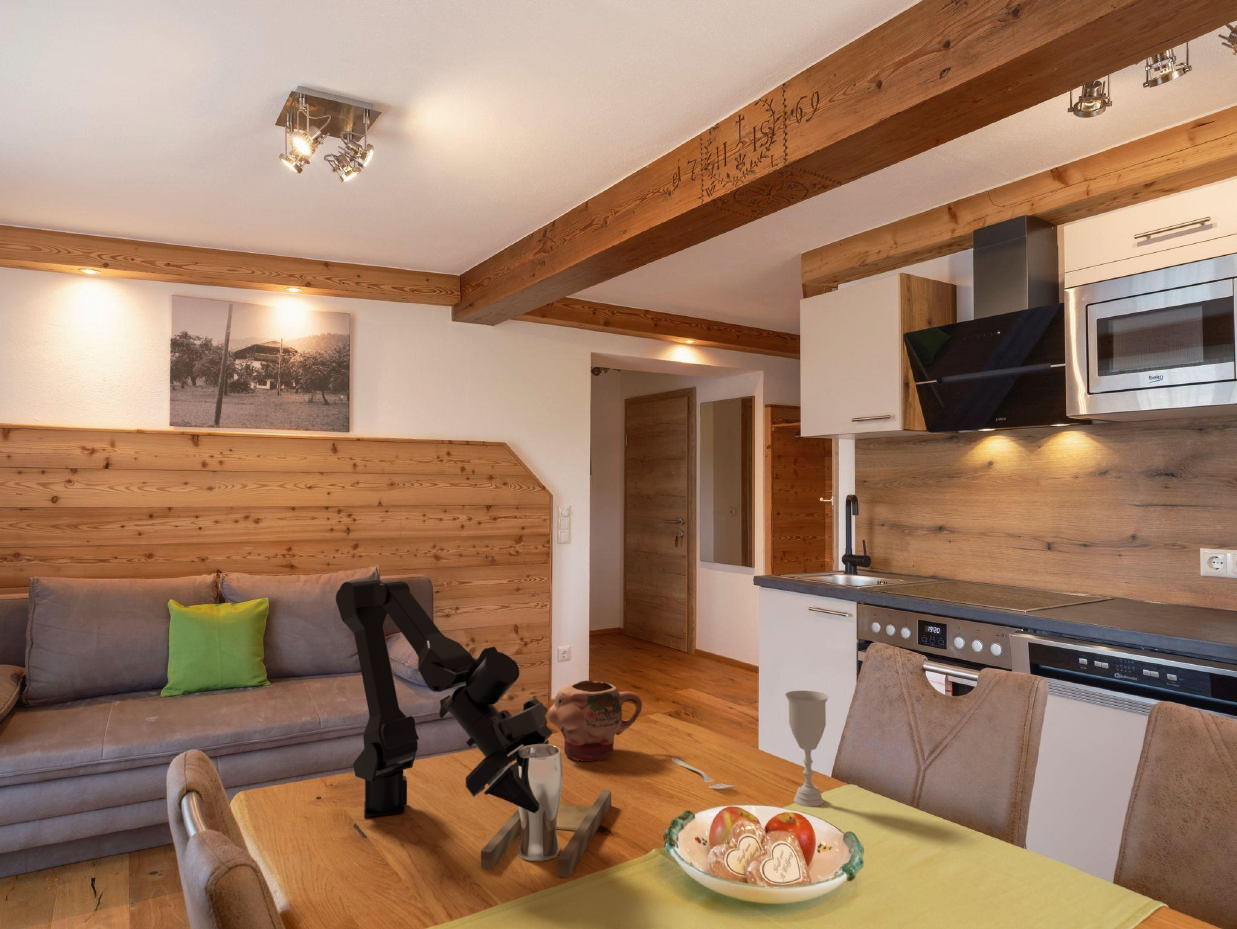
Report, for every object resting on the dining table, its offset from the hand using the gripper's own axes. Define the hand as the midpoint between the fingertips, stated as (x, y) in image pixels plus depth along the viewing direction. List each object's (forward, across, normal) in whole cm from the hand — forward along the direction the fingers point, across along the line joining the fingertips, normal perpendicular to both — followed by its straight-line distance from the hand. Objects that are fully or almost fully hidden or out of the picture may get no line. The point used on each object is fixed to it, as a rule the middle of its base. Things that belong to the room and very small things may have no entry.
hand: (547, 802), depth 119 cm
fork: (+15, +40, -3) cm, 43 cm away
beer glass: (+4, 0, +6) cm, 8 cm away
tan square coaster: (+3, +13, +8) cm, 15 cm away
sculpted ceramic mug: (-1, +45, +12) cm, 46 cm away
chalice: (+30, +33, -19) cm, 48 cm away
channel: (+4, +6, +7) cm, 10 cm away
